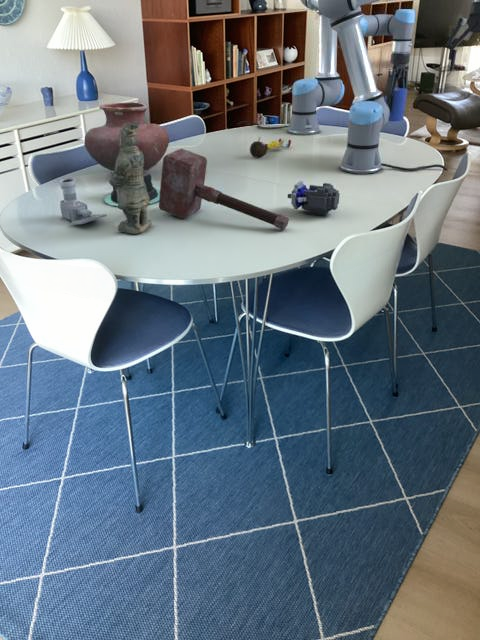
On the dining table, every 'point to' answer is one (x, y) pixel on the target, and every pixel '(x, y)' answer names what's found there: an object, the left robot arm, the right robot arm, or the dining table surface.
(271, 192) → the dining table surface
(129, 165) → the statue
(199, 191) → the sledgehammer
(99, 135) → the clay pot
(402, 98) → the canister
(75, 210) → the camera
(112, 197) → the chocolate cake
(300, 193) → the toy
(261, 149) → the figurine
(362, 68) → the right robot arm
